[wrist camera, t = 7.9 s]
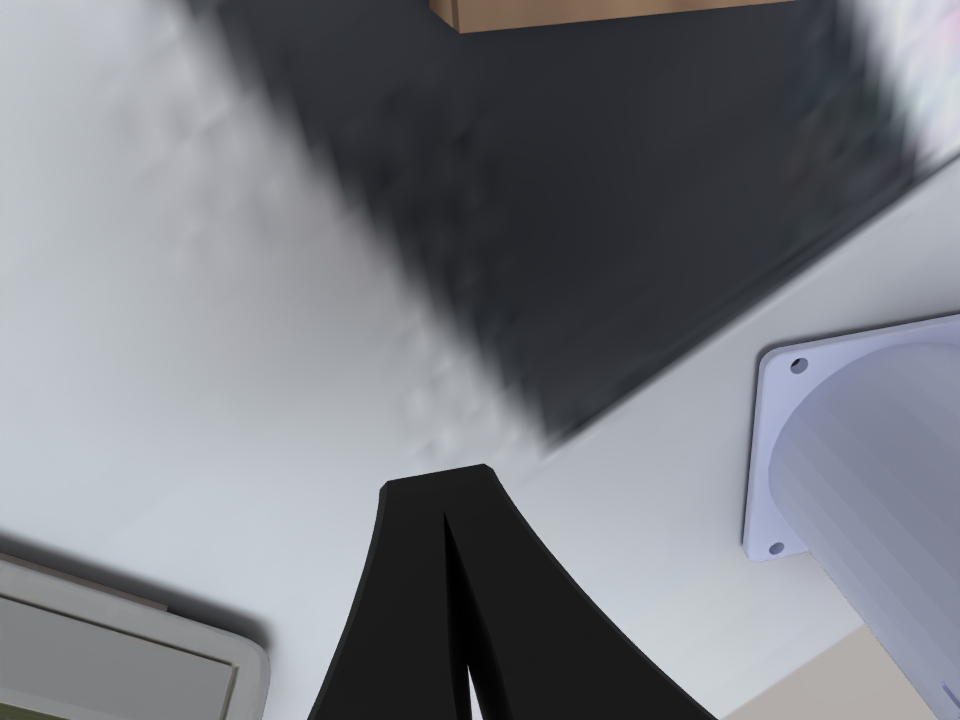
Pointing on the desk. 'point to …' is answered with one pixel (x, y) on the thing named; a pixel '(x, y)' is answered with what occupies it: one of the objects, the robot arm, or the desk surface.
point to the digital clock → (116, 655)
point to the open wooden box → (560, 11)
